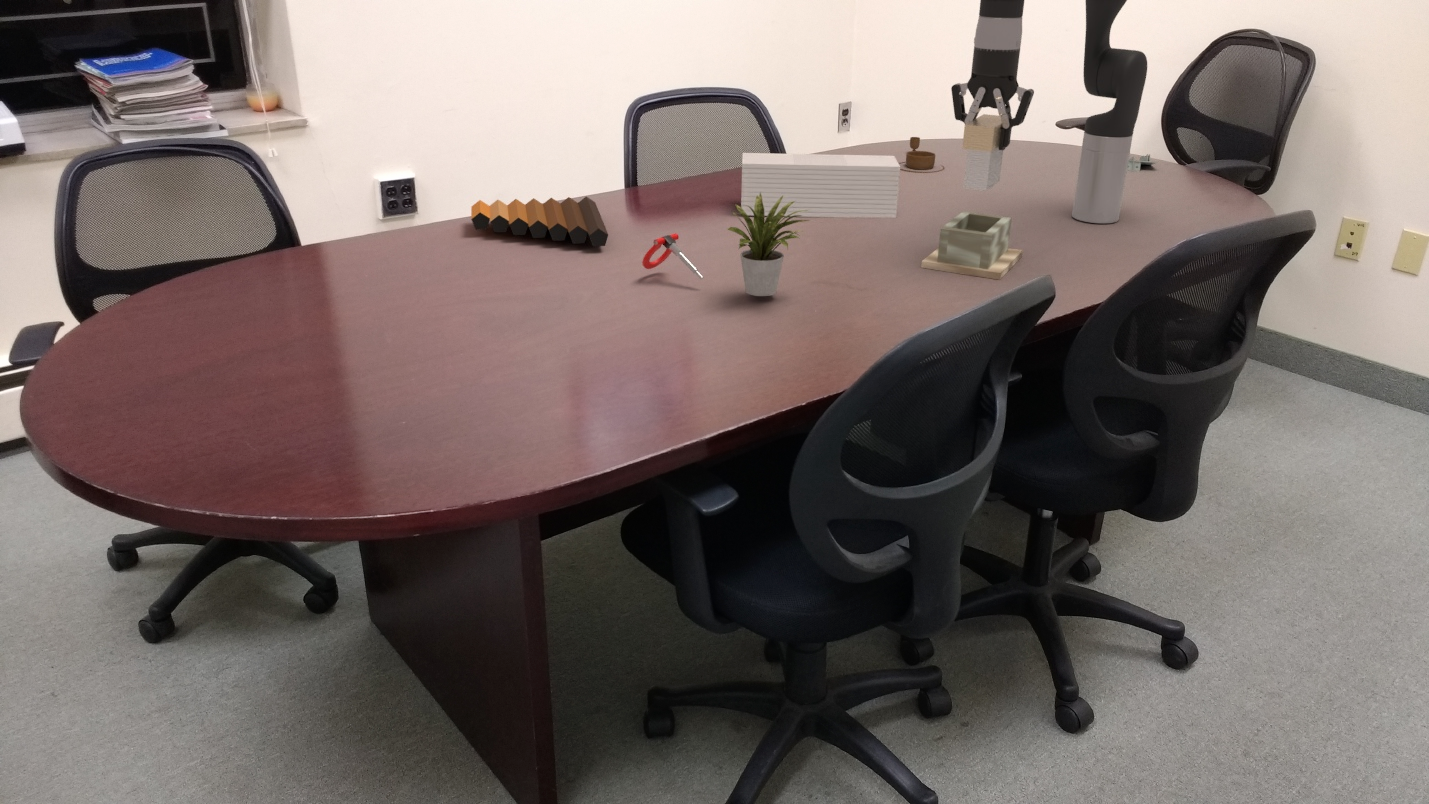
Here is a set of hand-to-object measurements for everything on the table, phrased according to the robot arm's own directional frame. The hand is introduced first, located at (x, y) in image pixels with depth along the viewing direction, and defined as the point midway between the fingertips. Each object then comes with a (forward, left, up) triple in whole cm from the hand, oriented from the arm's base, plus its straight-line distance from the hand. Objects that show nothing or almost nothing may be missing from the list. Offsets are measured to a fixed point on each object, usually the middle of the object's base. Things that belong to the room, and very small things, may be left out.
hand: (985, 147), depth 190 cm
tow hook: (+33, -45, -23) cm, 60 cm away
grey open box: (0, 0, -20) cm, 20 cm away
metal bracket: (-96, +19, -19) cm, 100 cm away
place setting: (-73, -32, -21) cm, 82 cm away
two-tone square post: (0, 0, -6) cm, 6 cm away
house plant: (+36, -26, -21) cm, 48 cm away
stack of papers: (-21, -39, -21) cm, 49 cm away
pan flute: (+32, -72, -19) cm, 81 cm away
